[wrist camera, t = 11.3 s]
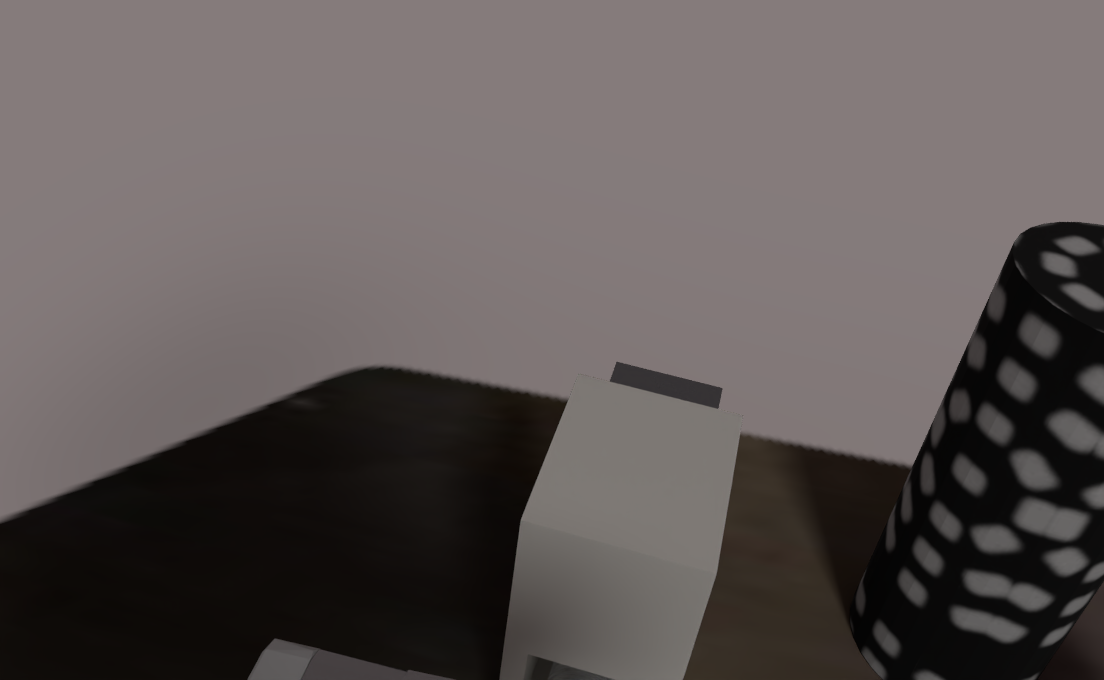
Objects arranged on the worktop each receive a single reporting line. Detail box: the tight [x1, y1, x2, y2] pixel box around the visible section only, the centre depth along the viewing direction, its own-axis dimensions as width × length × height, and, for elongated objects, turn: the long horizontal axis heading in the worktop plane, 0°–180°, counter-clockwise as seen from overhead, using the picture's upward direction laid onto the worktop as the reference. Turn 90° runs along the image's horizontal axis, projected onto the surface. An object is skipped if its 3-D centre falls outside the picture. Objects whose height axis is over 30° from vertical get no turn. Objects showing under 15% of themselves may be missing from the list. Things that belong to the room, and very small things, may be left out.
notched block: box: [499, 374, 743, 680], centre depth 39 cm, size 8×6×12 cm
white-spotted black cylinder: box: [850, 222, 1104, 680], centre depth 41 cm, size 8×8×20 cm
